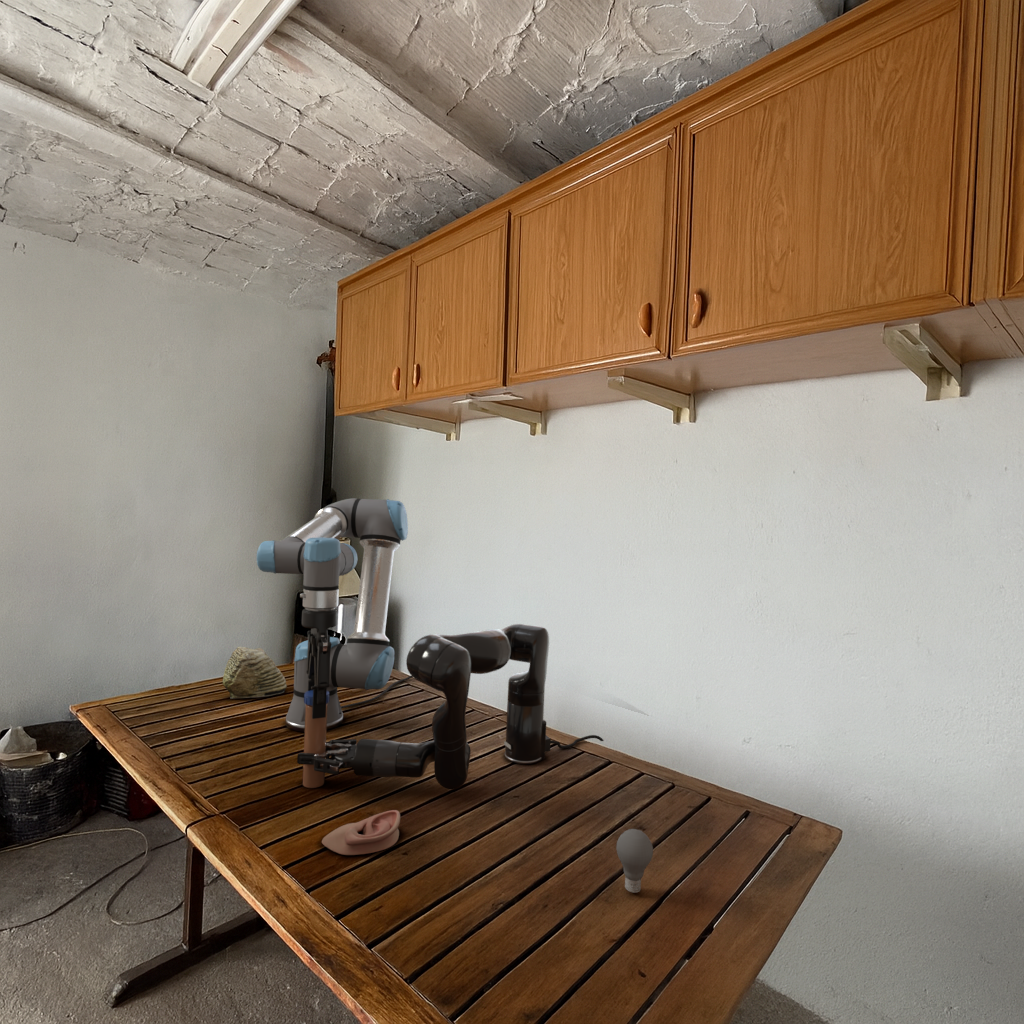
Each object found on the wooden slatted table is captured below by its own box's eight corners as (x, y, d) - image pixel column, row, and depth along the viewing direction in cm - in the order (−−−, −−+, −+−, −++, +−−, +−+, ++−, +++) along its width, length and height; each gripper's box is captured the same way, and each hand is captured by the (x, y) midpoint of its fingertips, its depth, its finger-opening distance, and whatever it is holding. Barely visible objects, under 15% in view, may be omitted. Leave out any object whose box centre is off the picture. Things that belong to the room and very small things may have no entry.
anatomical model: (313, 828, 113) (343, 799, 125) (313, 850, 113) (342, 819, 125) (383, 839, 111) (407, 808, 122) (382, 862, 111) (406, 829, 122)
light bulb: (610, 879, 108) (613, 822, 108) (644, 879, 109) (647, 822, 109) (619, 902, 102) (622, 840, 102) (655, 901, 103) (658, 840, 103)
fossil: (218, 695, 195) (220, 647, 195) (278, 685, 208) (279, 640, 207) (228, 703, 189) (230, 653, 188) (289, 692, 201) (290, 645, 201)
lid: (324, 706, 137) (324, 697, 137) (300, 704, 137) (300, 696, 137) (332, 698, 142) (332, 690, 142) (309, 697, 142) (309, 688, 142)
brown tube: (298, 783, 140) (301, 695, 139) (317, 776, 143) (320, 691, 143) (309, 790, 137) (313, 700, 136) (328, 783, 140) (331, 696, 140)
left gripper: (295, 602, 145) (291, 702, 146) (310, 616, 129) (305, 729, 130) (328, 600, 149) (325, 699, 149) (347, 614, 133) (342, 724, 133)
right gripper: (387, 729, 146) (314, 725, 147) (370, 754, 132) (290, 749, 133) (385, 761, 146) (313, 757, 147) (369, 789, 132) (288, 784, 133)
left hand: (316, 712), depth 140 cm, fingers closed on lid, 5 cm apart
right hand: (302, 753), depth 140 cm, fingers closed on brown tube, 4 cm apart
